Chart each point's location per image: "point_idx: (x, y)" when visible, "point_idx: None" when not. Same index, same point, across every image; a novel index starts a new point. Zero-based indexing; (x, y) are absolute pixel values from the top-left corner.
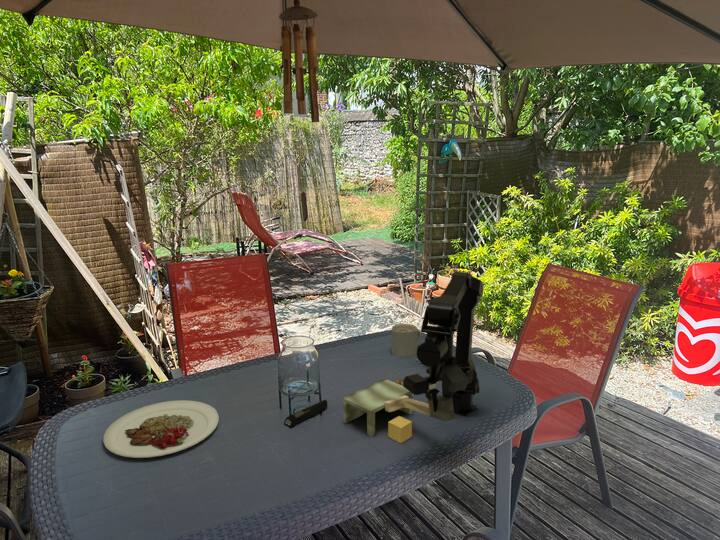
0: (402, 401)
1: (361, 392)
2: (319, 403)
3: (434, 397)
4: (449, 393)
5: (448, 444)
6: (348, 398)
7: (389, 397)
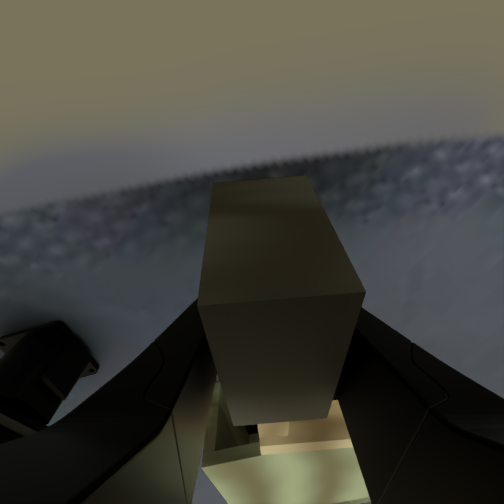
0: (292, 430)
1: (360, 496)
2: None
3: (447, 387)
4: (183, 393)
5: (206, 214)
6: None
7: (306, 458)
